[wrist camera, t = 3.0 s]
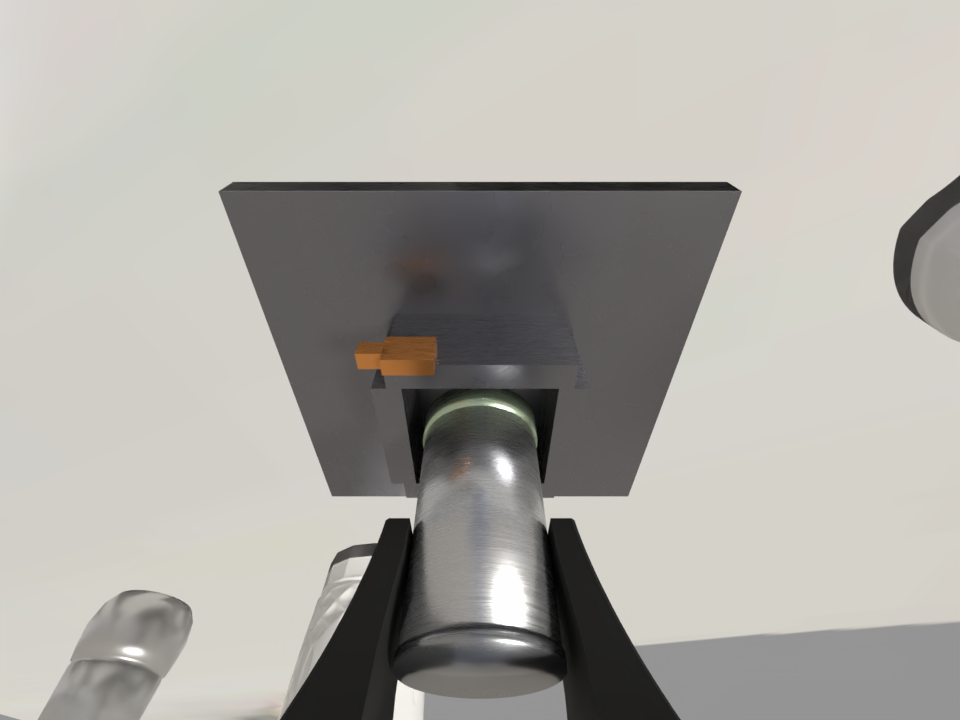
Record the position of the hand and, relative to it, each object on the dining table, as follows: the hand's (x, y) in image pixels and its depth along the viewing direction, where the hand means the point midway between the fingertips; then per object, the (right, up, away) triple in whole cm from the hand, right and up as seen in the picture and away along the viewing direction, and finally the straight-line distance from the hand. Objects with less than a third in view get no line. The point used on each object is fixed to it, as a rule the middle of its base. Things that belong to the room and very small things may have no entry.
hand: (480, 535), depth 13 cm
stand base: (0, +5, +6) cm, 8 cm away
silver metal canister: (0, +3, +4) cm, 5 cm away
